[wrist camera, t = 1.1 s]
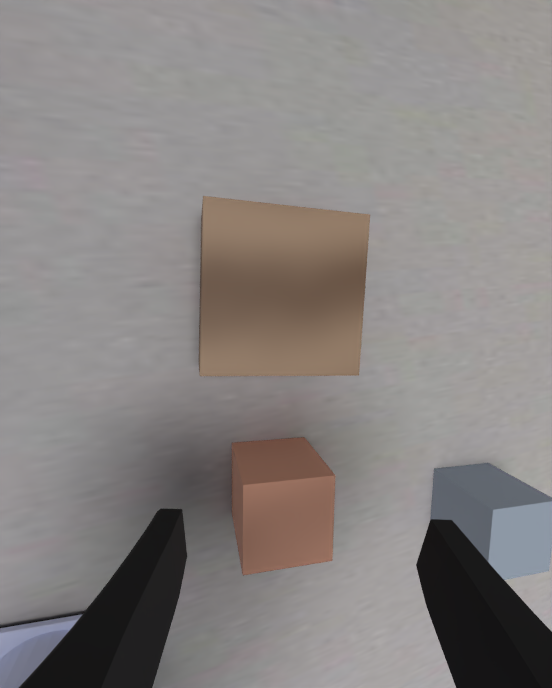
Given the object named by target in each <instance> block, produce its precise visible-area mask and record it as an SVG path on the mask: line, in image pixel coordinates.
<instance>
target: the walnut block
mask: <svg viewBox="0 0 552 688" xmlns="http://www.w3.org/2000/svg"><path fill="white" fill-rule="evenodd" d="M369 223H370V215H368V214H359V213H350V212H341V211H332V210H323V209H315V208H306V207H297V206H288V205H279V204H270V203H261V202H252V201H243V200H234V199H225V198H216V197H207V196H203V204H202V216H201V270H200V325H199V372H200V376H336V375H359V367H360V352H361V338H362V324H363V309H364V295H365V280H366V266H367V252H368V237H369Z"/></svg>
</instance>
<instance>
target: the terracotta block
mask: <svg viewBox="0 0 552 688" xmlns="http://www.w3.org/2000/svg"><path fill="white" fill-rule="evenodd" d="M334 498H335V474H334V473H333V472H332V471H331V470H330V468H329V467H328V466H327V465H326V463H325V462H324V461H323V460H322V458H321V457H320V456H319V455H318V453H317V452H316V451H315V450H314V449H313V447H312V446H311V445H310V444H309V442H308V441H307V440H306V439H305V437H301V438H288V439H275V440H262V441H249V442H236V443H232V517H233V522H234V528H235V534H236V539H237V545H238V551H239V556H240V562H241V568H242V573H243V575H248V574H254V573H260V572H266V571H273V570H279V569H285V568H291V567H297V566H303V565H309V564H315V563H321V562H327V561H332V555H333V526H334Z"/></svg>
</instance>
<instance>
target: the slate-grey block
mask: <svg viewBox="0 0 552 688" xmlns="http://www.w3.org/2000/svg"><path fill="white" fill-rule="evenodd" d="M431 519H441V520H452V521H453V522H454V523H455V524H456V525H457V526H458V527H459V529H460V530H461V531H462V532H463V533H464V534H465V536H466V537H467V538H468V539H469V540H470V541H471V543H472V544H473V545H474V546H475V547H476V548H477V550H478V551H479V552H480V553H481V554H482V555H483V557H484V558H485V559H486V560H487V561H488V562H489V563H490V565H491V566H492V567H493V568H494V569H495V570H496V572H497V573H498V574H499V575H500V576H501V577H502V578H503V579H504V580H507V579H512V578H516V577H521V576H526V575H531V574H536V573H541V572H546V571H549V566H550V558H551V549H552V498H551V497H550V496H548V495H546V494H544V493H542V492H540V491H539V490H537V489H535V488H533V487H531V486H530V485H528V484H526V483H524V482H522V481H520V480H519V479H517V478H515V477H513V476H511V475H509V474H508V473H506V472H504V471H502V470H500V469H498V468H497V467H495V466H493V465H491V464H489V463H483V464H474V465H465V466H455V467H446V468H437V469H434V478H433V492H432V506H431Z"/></svg>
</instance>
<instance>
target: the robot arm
mask: <svg viewBox="0 0 552 688" xmlns="http://www.w3.org/2000/svg"><path fill="white" fill-rule="evenodd" d="M186 559H187V552H186V542H185V532H184V523H183V513H182V509H160V510H159V511H157V513H156V515H155V516H154V518H153V519H152V521H151V522H150V524H149V526H148V527H147V529H146V530H145V532H144V533H143V535H142V536H141V538H140V539H139V540H138V542H137V543H136V545H135V546H134V548H133V549H132V550H131V552H130V553H129V555H128V556H127V558H126V559H125V560H124V562H123V563H122V564H121V566H120V567H119V568H118V570H117V571H116V572H115V574H114V575H113V576H112V578H111V579H110V580H109V582H108V583H107V584H106V586H105V587H104V588H103V590H102V591H101V592H100V594H99V595H98V596H97V597H96V598H95V600H94V601H93V602H92V603H91V605H90V606H89V607H88V608H87V610H86V611H85V612H84V613H83V614H81V615H75V616H69V617H64V618H58V619H52V620H46V621H40V622H34V623H28V624H23V625H17V626H11V627H5V628H0V688H152V686H153V683H154V679H155V676H156V673H157V669H158V666H159V663H160V659H161V656H162V653H163V649H164V646H165V643H166V639H167V636H168V632H169V629H170V626H171V622H172V619H173V615H174V612H175V609H176V605H177V602H178V598H179V594H180V589H181V584H182V579H183V574H184V569H185V564H186ZM416 566H417V570H418V574H419V578H420V582H421V587H422V590H423V594H424V598H425V602H426V605H427V608H428V611H429V614H430V617H431V620H432V622H433V625H434V628H435V631H436V634H437V636H438V639H439V642H440V645H441V647H442V650H443V653H444V655H445V658H446V661H447V664H448V666H449V669H450V672H451V674H452V677H453V680H454V683H455V685H456V688H552V632H551V631H550V630H549V629H548V627H547V626H546V625H545V624H544V623H543V622H542V621H541V620H540V619H539V618H538V617H537V616H536V615H535V614H534V613H533V612H532V610H531V609H530V608H529V607H528V606H527V605H526V604H525V603H524V602H523V601H522V599H521V598H520V597H519V596H518V595H517V594H516V593H515V592H514V591H513V589H512V588H511V587H510V586H509V585H508V584H507V583H506V582H505V581H504V579H503V578H502V577H501V576H500V575H499V574H498V573H497V572H496V570H495V569H494V568H493V567H492V566H491V565H490V563H489V562H488V561H487V560H486V559H485V558H484V557H483V555H482V554H481V553H480V552H479V551H478V550H477V548H476V547H475V546H474V545H473V544H472V543H471V541H470V540H469V539H468V538H467V537H466V536H465V534H464V533H463V532H462V531H461V530H460V529H459V527H458V526H457V525H456V524H455V523H454V522H453V521H452V520H441V519H431V520H430V523H429V527H428V530H427V533H426V536H425V539H424V542H423V545H422V549H421V552H420V555H419V558H418V561H417V564H416Z"/></svg>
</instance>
